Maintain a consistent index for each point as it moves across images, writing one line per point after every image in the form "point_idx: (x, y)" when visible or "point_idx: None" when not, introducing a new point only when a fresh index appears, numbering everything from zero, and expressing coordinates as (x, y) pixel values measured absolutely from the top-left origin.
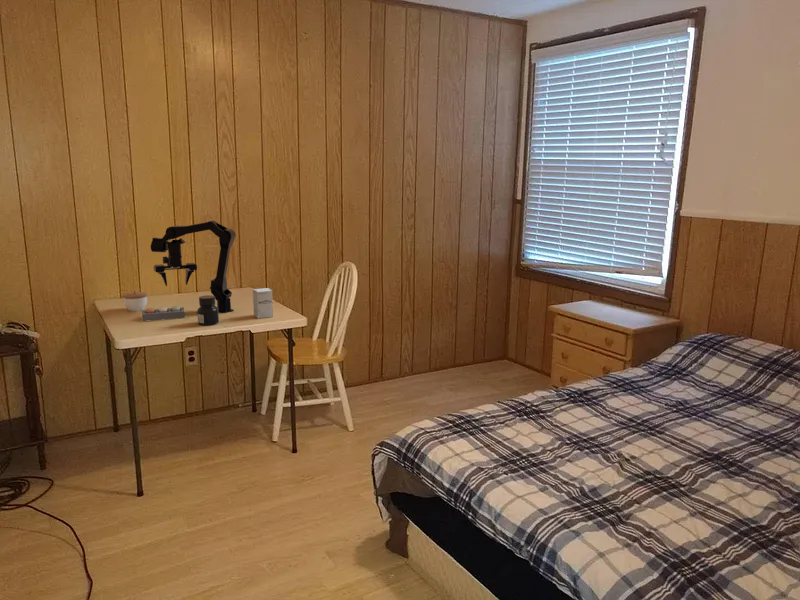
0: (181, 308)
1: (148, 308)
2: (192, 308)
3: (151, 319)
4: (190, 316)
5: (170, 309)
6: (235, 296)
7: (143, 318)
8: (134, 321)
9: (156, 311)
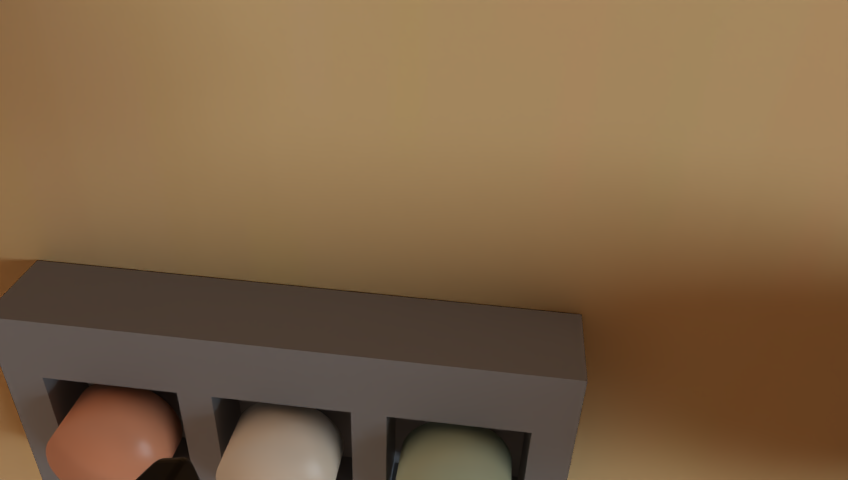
0: (539, 434)
1: (73, 444)
2: (809, 26)
3: None
4: (623, 470)
5: (380, 425)
6: None
7: None
8: (10, 421)
9: (199, 449)
